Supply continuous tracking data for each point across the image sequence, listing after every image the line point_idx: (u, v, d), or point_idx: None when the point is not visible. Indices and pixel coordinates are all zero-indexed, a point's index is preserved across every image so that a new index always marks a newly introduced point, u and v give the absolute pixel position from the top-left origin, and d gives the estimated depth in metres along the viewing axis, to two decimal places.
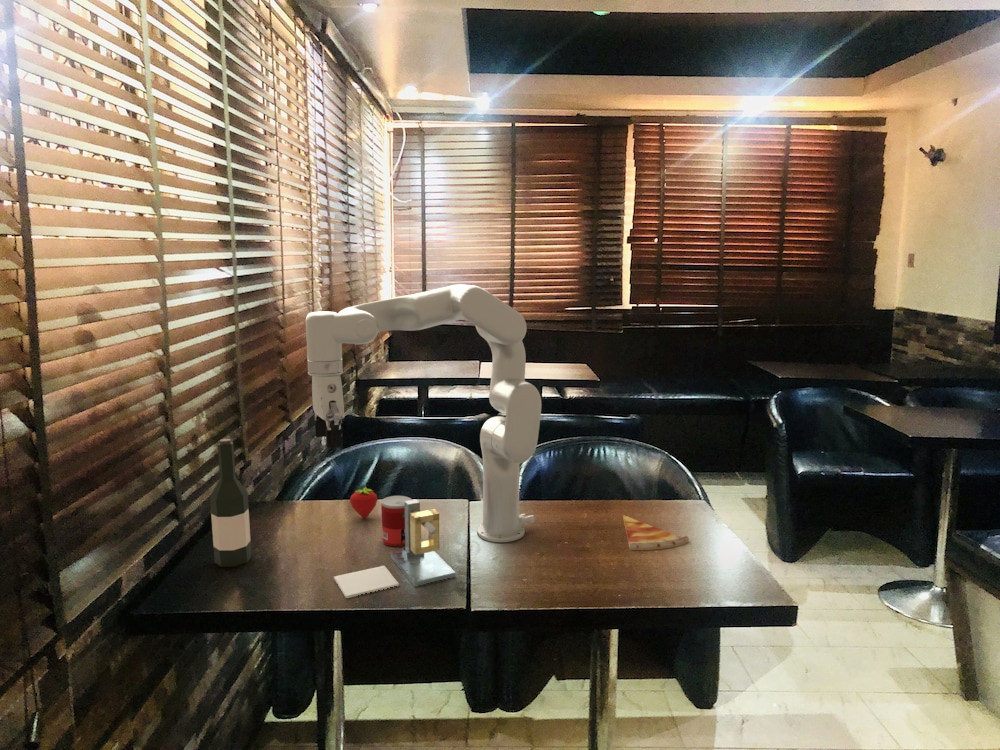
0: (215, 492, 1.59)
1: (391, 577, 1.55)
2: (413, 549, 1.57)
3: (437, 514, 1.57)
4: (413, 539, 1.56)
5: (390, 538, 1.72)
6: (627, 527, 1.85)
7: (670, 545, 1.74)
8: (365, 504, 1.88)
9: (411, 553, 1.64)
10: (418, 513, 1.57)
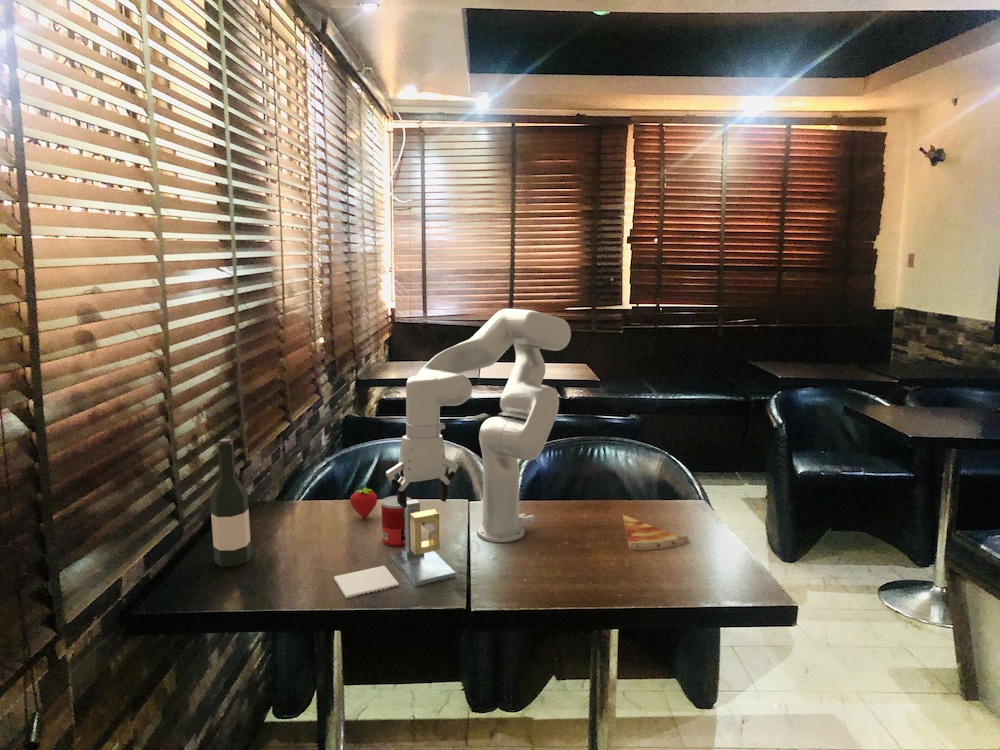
0: (215, 492, 1.59)
1: (391, 577, 1.55)
2: (413, 549, 1.57)
3: (437, 514, 1.57)
4: (413, 539, 1.56)
5: (390, 538, 1.72)
6: (627, 527, 1.85)
7: (670, 545, 1.74)
8: (365, 504, 1.88)
9: (411, 553, 1.64)
10: (418, 513, 1.57)
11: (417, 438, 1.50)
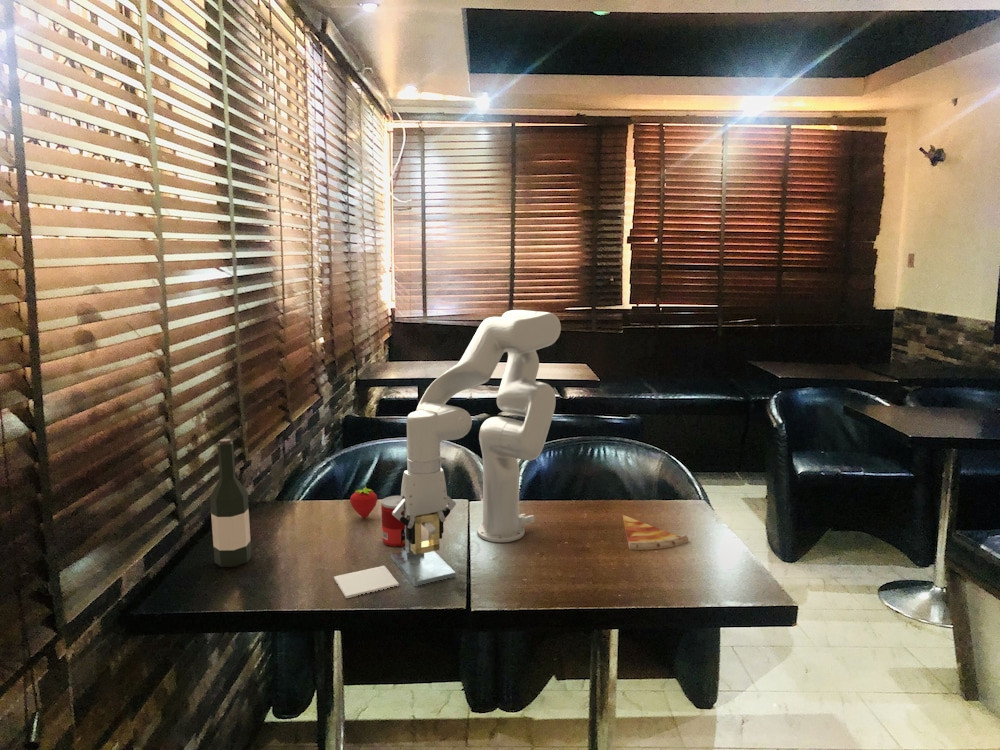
0: (215, 492, 1.59)
1: (391, 577, 1.55)
2: (413, 549, 1.57)
3: (437, 514, 1.57)
4: None
5: (390, 538, 1.72)
6: (627, 527, 1.85)
7: (670, 545, 1.74)
8: (365, 504, 1.88)
9: (411, 553, 1.64)
10: None
11: (418, 474, 1.52)
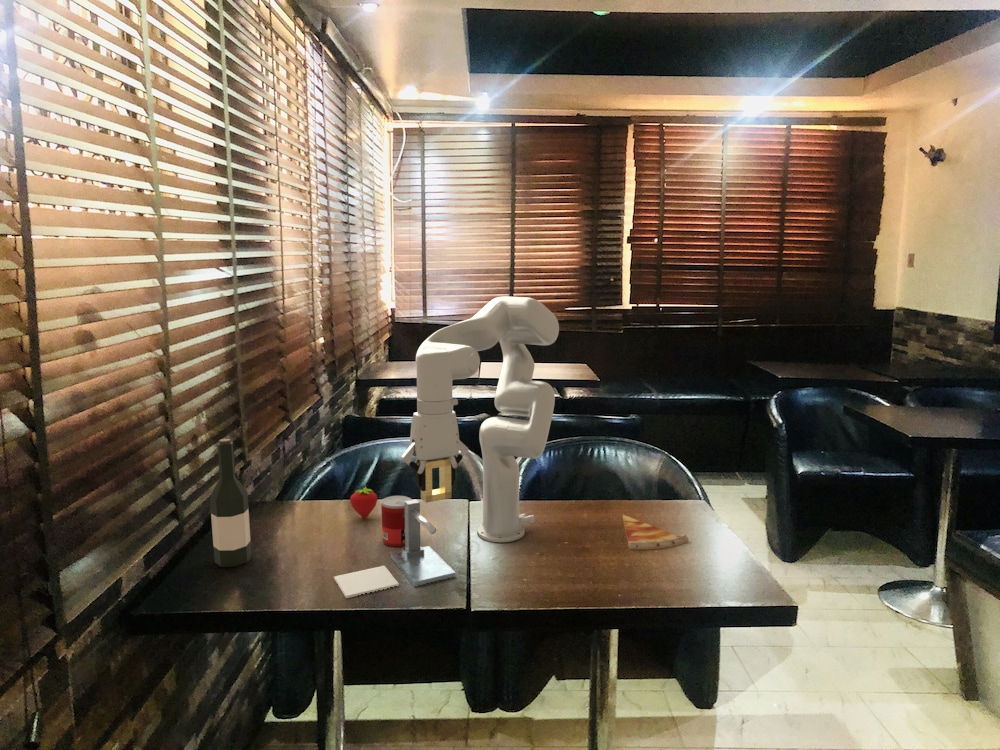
0: (215, 492, 1.59)
1: (391, 577, 1.55)
2: (423, 496, 1.48)
3: (449, 459, 1.48)
4: None
5: (390, 538, 1.72)
6: (626, 526, 1.85)
7: (669, 544, 1.74)
8: (365, 504, 1.88)
9: (411, 553, 1.64)
10: None
11: (429, 414, 1.42)
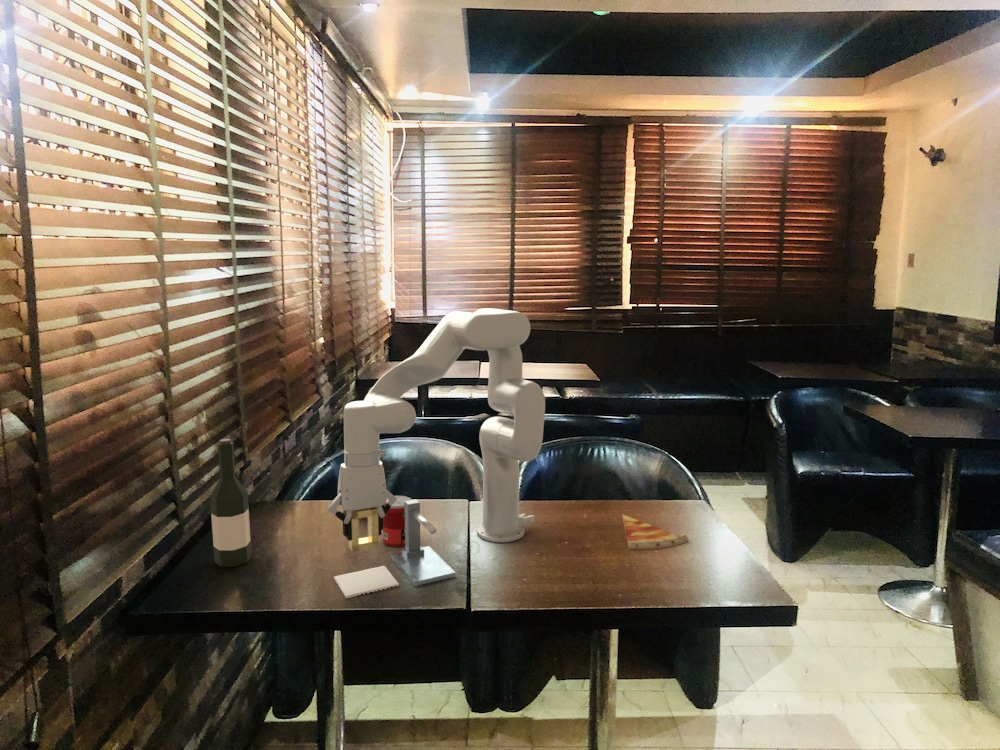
0: (215, 492, 1.59)
1: (391, 577, 1.55)
2: (350, 545, 1.51)
3: (376, 509, 1.51)
4: None
5: (390, 538, 1.72)
6: (626, 526, 1.85)
7: (669, 544, 1.74)
8: None
9: (411, 553, 1.64)
10: None
11: (354, 466, 1.45)
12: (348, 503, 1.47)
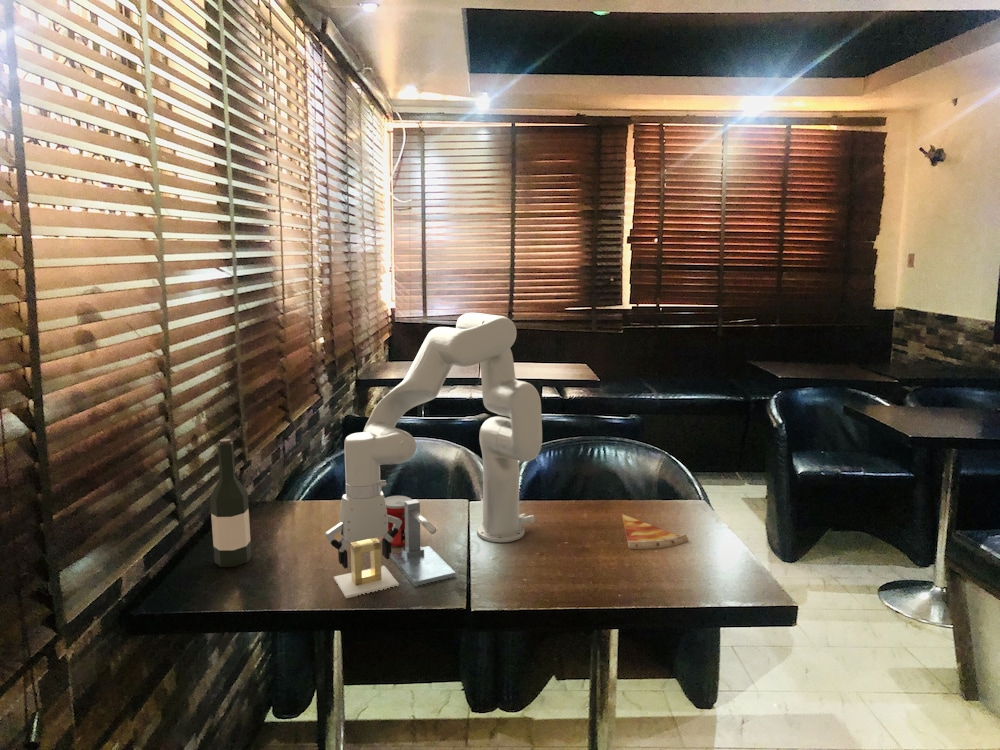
0: (215, 492, 1.59)
1: (391, 577, 1.55)
2: (353, 579, 1.52)
3: (378, 543, 1.53)
4: (354, 569, 1.52)
5: None
6: (626, 526, 1.86)
7: (669, 544, 1.74)
8: None
9: (411, 553, 1.64)
10: (359, 542, 1.52)
11: (355, 498, 1.47)
12: (350, 534, 1.48)
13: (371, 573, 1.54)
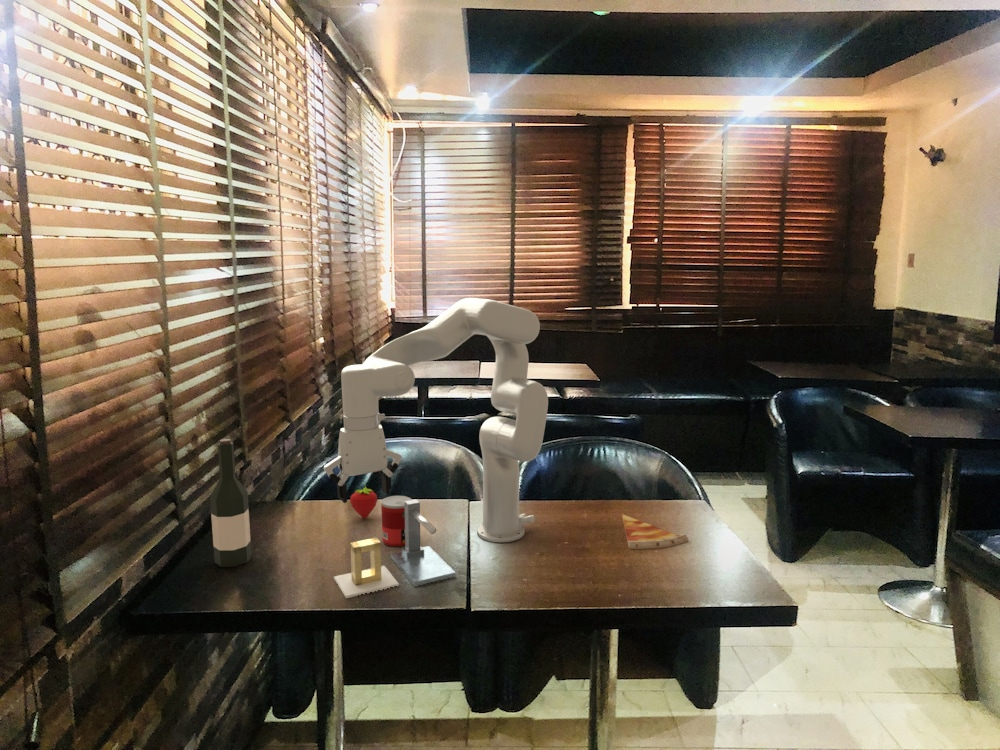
0: (215, 492, 1.59)
1: (391, 577, 1.55)
2: (353, 579, 1.52)
3: (378, 543, 1.53)
4: (354, 569, 1.52)
5: (390, 538, 1.72)
6: (626, 526, 1.86)
7: (669, 544, 1.74)
8: (365, 504, 1.88)
9: (411, 553, 1.64)
10: (359, 542, 1.52)
11: (354, 430, 1.44)
12: (349, 467, 1.46)
13: (371, 573, 1.54)
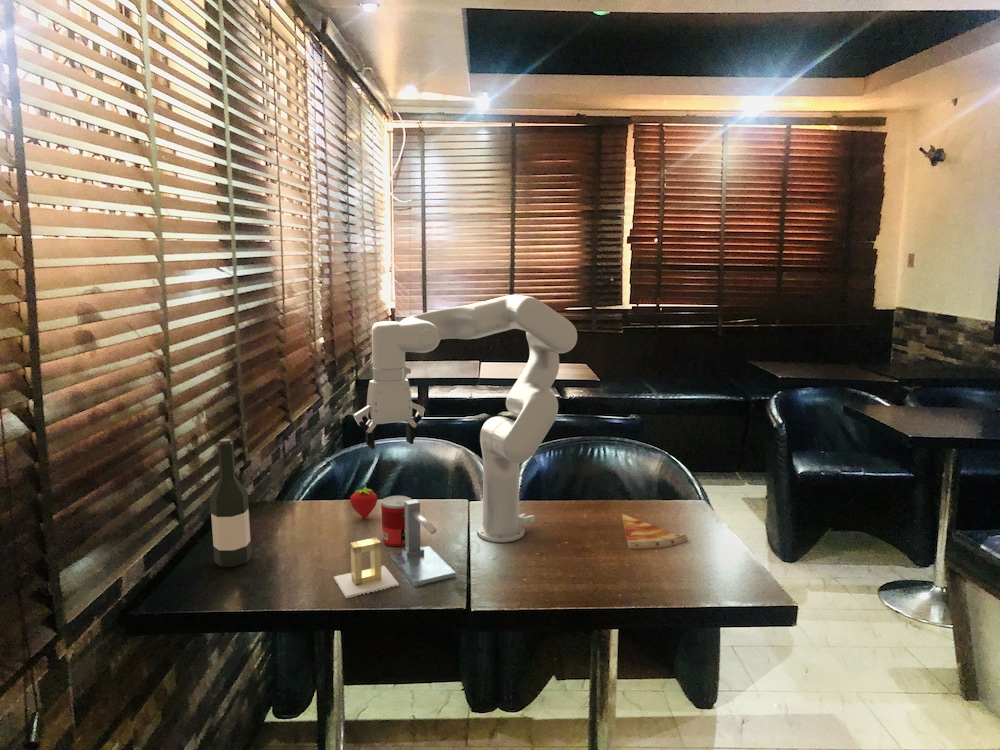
0: (215, 492, 1.59)
1: (391, 577, 1.55)
2: (353, 579, 1.52)
3: (378, 543, 1.53)
4: (354, 569, 1.52)
5: (390, 538, 1.72)
6: (626, 526, 1.86)
7: (669, 544, 1.74)
8: (365, 504, 1.88)
9: (411, 553, 1.64)
10: (359, 542, 1.52)
11: (382, 381, 1.56)
12: (377, 416, 1.57)
13: (371, 573, 1.54)
